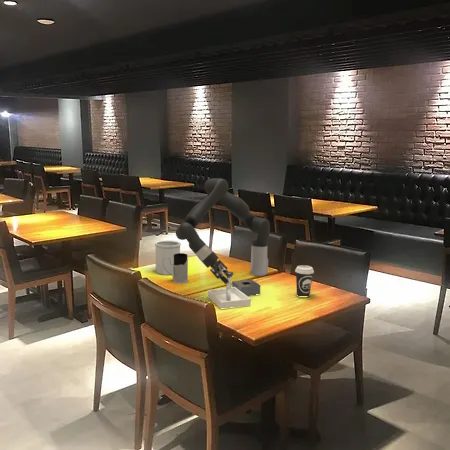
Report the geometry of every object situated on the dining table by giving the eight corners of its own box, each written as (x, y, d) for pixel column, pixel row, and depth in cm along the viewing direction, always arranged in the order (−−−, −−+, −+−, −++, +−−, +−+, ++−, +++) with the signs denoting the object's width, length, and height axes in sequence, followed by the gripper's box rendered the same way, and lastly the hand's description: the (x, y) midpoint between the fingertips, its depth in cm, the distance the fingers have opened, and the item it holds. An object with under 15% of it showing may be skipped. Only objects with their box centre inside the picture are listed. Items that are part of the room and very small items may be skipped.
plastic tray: (234, 293, 258) (235, 286, 257) (250, 305, 241) (250, 298, 240) (207, 296, 252) (207, 290, 251) (221, 309, 235) (221, 302, 234)
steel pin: (230, 298, 249) (231, 271, 246) (233, 300, 245) (234, 273, 243) (223, 299, 247) (223, 271, 245) (226, 301, 244) (226, 274, 241)
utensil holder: (166, 266, 304) (166, 238, 300) (185, 271, 295) (185, 242, 292) (149, 272, 292) (149, 242, 288) (168, 276, 283) (168, 246, 280)
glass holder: (188, 283, 272) (188, 257, 269) (162, 283, 271) (162, 256, 268) (188, 278, 281) (188, 252, 278) (163, 278, 280) (162, 252, 277)
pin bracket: (250, 288, 267) (251, 279, 266) (260, 294, 257) (260, 285, 256) (232, 290, 262) (232, 281, 261) (240, 297, 252) (240, 287, 252)
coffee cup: (314, 294, 259) (316, 266, 256) (309, 300, 250) (311, 271, 247) (296, 291, 263) (298, 264, 260) (291, 296, 254) (292, 268, 251)
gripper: (208, 254, 236) (231, 279, 236) (215, 247, 250) (237, 271, 250) (197, 264, 239) (220, 289, 238) (205, 257, 252) (226, 280, 252)
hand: (229, 280), depth 244 cm, fingers open, 8 cm apart
